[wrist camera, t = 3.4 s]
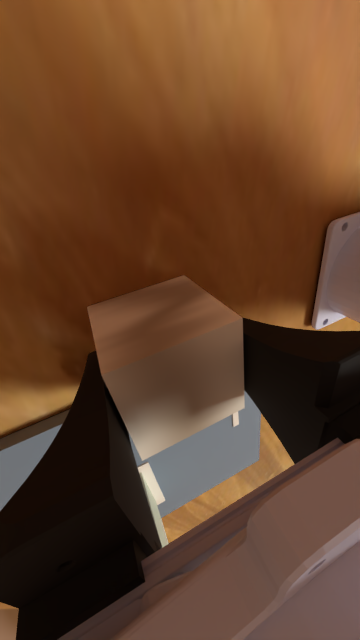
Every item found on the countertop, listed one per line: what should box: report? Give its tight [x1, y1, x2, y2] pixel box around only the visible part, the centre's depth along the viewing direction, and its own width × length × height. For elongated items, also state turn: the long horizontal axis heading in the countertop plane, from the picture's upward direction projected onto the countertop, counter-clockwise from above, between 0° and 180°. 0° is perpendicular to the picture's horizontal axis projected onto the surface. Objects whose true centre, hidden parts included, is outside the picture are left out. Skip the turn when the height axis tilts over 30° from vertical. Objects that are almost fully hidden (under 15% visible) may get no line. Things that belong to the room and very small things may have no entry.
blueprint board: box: [0, 390, 261, 518], centre depth 18 cm, size 20×16×1 cm
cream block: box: [87, 275, 245, 461], centre depth 11 cm, size 5×5×5 cm
